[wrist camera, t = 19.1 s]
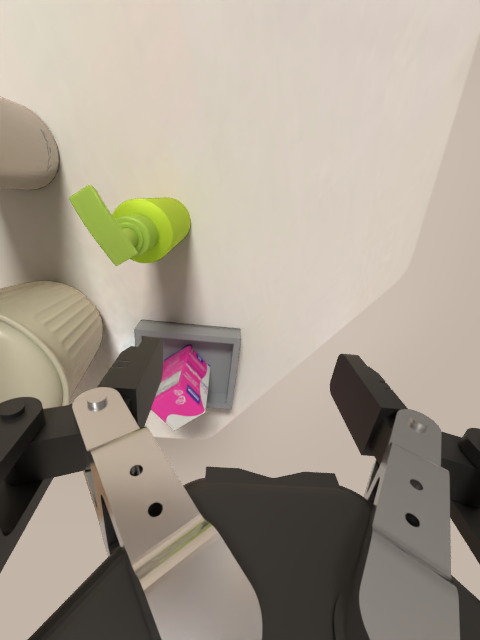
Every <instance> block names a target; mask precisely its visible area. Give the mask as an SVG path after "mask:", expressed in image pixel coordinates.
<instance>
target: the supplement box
mask: <svg viewBox="0 0 480 640" xmlns="http://www.w3.org/2000/svg"><path fill="white" fill-rule="evenodd" d="M209 376H210V365H209V364H208V363H207V362H206V361H205V360H204V359H203V358H202V357H201V356H200V355H199V354H198V352H197V351H196V350H195V349H194V348H193V346H192V345H191V344H188V345H187V346H185V347H184V348H182V349H181V350H179V351H178V352H176V353H175V354H173V355H171V356H170V357H168V358H167V359H165V360H164V363H163V375H162V380H161V383H160V386H159V388H158V391H157V394H156V396H155V399H154V402H153V404H152V407H151V410H152V411H153V412H155V413H156V414H157V415H158V416H159V417H160V418H161V419H162V420H163V421H164V422H165V423H166V424H167V425H168V426H169V427H171V428H172V429H173V430H174V431H175V430H177V429H178V428H180V427H182V426H183V425H185V424H186V423H188V422H190V421H192V420H193V419H195V418H197V417H198V416H200V415H202V414H204V413H205V412H206V403H207V394H208V385H209Z"/></svg>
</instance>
